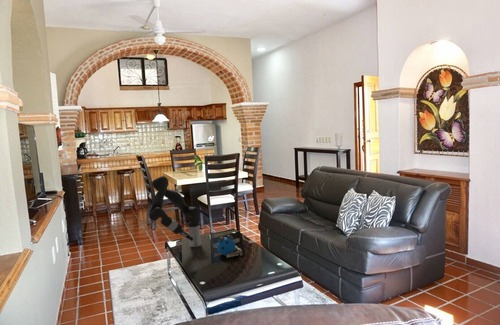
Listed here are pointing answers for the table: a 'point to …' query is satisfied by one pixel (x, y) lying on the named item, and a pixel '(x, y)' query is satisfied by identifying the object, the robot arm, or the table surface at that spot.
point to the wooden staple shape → (237, 252)
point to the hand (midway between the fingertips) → (192, 239)
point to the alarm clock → (226, 245)
